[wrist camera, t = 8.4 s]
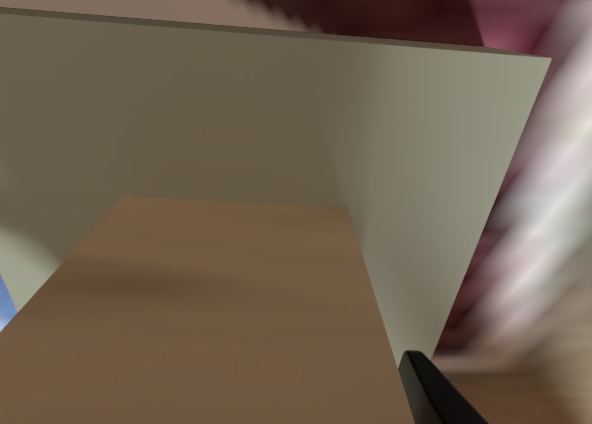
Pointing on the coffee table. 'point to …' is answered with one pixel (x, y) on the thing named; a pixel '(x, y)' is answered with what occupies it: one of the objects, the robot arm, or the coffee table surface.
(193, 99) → the sage base block
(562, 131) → the coffee table surface
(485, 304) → the coffee table surface
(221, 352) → the birch cube
